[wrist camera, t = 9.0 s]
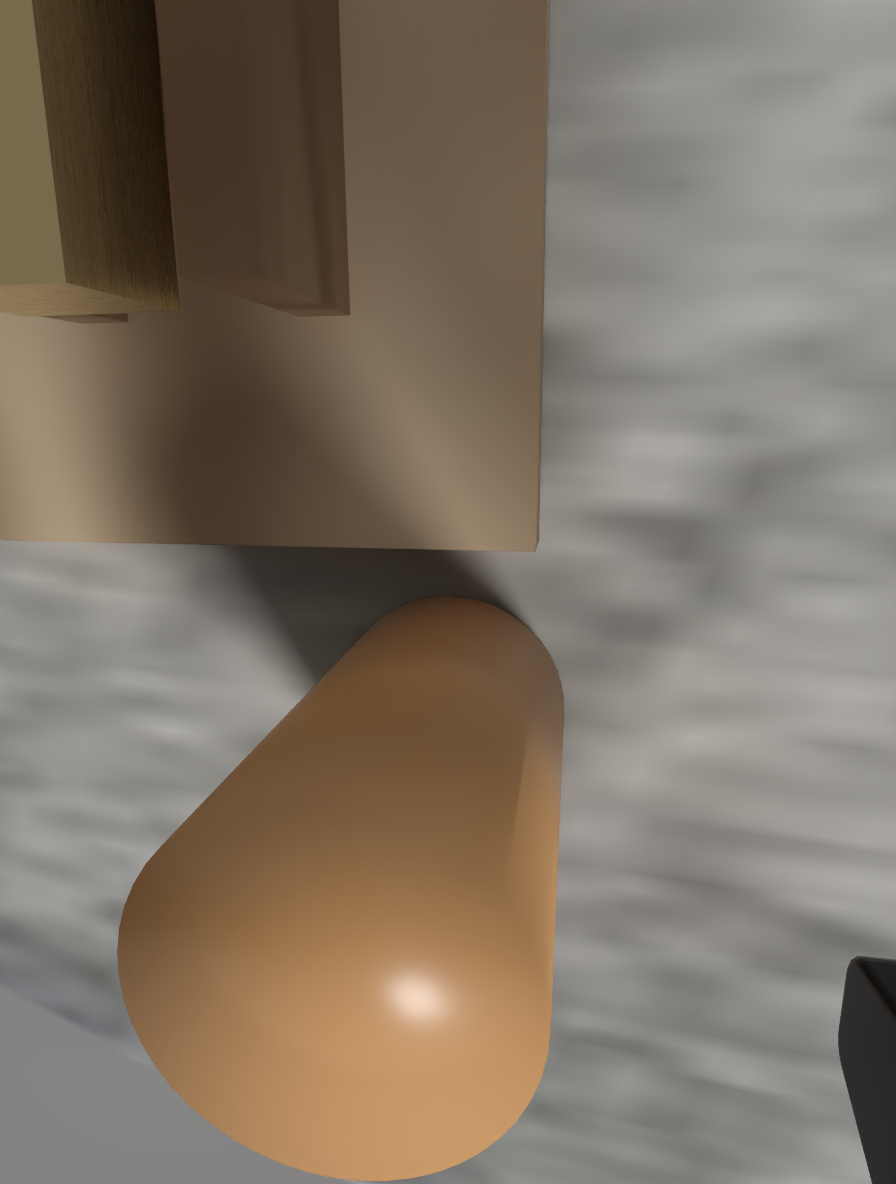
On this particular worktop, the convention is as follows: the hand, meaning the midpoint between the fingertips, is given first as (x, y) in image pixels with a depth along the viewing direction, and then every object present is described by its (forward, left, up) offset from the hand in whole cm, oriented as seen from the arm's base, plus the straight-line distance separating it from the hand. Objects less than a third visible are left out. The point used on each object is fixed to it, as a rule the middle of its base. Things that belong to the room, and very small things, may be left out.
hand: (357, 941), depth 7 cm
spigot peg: (0, 0, -6) cm, 6 cm away
